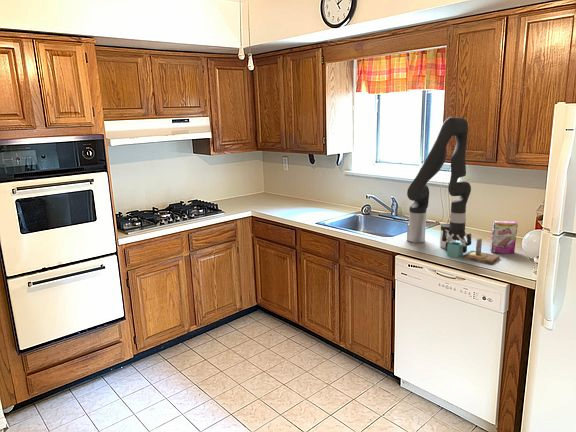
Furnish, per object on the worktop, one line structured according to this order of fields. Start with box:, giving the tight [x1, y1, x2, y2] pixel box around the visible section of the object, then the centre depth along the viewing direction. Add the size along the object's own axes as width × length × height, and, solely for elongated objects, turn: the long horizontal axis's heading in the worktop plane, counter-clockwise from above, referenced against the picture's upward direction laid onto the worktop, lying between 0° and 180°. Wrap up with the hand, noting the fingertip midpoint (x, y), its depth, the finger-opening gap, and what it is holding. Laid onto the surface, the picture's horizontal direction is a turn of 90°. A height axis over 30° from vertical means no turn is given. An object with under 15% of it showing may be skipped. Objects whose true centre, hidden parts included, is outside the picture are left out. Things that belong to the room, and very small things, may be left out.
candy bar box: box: [489, 220, 519, 255], centre depth 227 cm, size 11×5×16 cm, turn 75°
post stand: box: [462, 238, 501, 265], centre depth 219 cm, size 14×11×10 cm
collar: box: [446, 241, 464, 258], centre depth 227 cm, size 6×6×6 cm
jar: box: [439, 223, 457, 249], centre depth 240 cm, size 9×8×12 cm
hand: (455, 251), depth 227 cm, fingers open, 8 cm apart
